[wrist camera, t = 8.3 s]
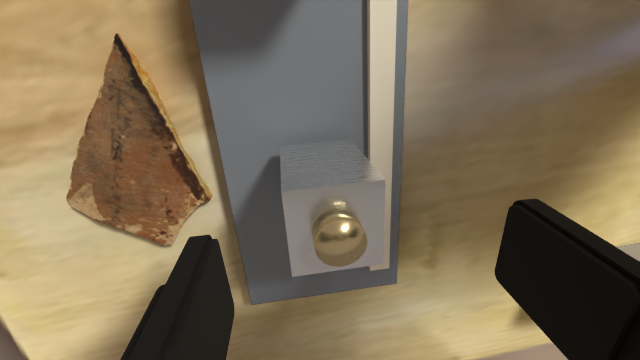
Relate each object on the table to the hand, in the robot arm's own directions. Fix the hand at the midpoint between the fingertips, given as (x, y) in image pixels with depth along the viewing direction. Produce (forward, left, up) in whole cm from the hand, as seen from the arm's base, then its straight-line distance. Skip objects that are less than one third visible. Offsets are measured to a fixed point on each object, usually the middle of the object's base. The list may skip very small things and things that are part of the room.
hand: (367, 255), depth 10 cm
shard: (-1, -12, -12) cm, 17 cm away
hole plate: (-3, -1, -11) cm, 12 cm away
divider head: (+1, -1, -9) cm, 9 cm away
